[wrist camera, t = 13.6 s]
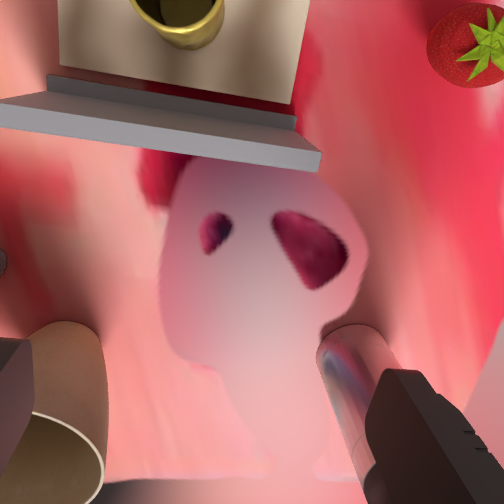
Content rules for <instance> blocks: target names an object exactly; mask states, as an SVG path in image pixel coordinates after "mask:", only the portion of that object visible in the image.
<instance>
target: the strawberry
mask: <svg viewBox="0 0 504 504" xmlns="http://www.w3.org/2000/svg"><path fill="white" fill-rule="evenodd" d="M427 56H428V59H429V62H430V64H431V66H432V67H433V69H434V70H435V71H436V72H437V73H438V74H439V75H441V76H442V77H443V78H444V79H446V80H447V81H449V82H450V83H452V84H454V85H457V86H460V87H464V88H479V87H484V86H489V85H492V84H495V83H497V82H499V81H501V80H503V79H504V9H503V8H501V7H498V6H496V5H490V4H483V3H469V4H466V5H462V6H459V7H457V8H455V9H454V10H452V11H451V12H449V13H448V14H447V15H446V16H444V17H443V18H442V19H441V20H439V21H438V22H437V23H436V24H435V26H434V27H433V29H432V30H431V32H430V34H429V37H428V40H427Z"/></svg>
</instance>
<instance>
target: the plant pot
mask: <svg viewBox="0 0 504 504" xmlns="http://www.w3.org/2000/svg"><path fill="white" fill-rule="evenodd" d="M25 339H28V340H29V341H30V342H31V346H32V357H33V373H34V389H35V400H34V407H33V411H32V415H31V418H30V421H29V423H28V425H27V427H26V429H25V431H24V433H23V435H22V437H21V439H20V441H19V443H18V444H17V446H16V448H15V450H14V452H13V454H12V456H11V458H10V460H9V462H8V463H7V465H6V467H5V469H4V471H3V473H2V475H1V477H0V504H88V503H89V502H90V501H91V500H92V499H93V498H94V497H95V496H96V495H97V494H98V492H99V490H100V489H101V487H102V484H103V481H104V476H105V466H106V453H107V440H108V422H109V403H108V383H107V374H106V367H105V361H104V355H103V351H102V346H101V343H100V340H99V338H98V337H97V335H96V334H95V333H94V332H93V331H92V330H91V329H89V328H88V327H86V326H84V325H82V324H80V323H77V322H72V321H57V322H53V323H50V324H48V325H46V326H44V327H42V328H41V329H39V330H37V331H36V332H34V333H32V334H31V335H29V336H28V337H26V338H25Z"/></svg>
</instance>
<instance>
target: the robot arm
mask: <svg viewBox="0 0 504 504" xmlns="http://www.w3.org/2000/svg"><path fill="white" fill-rule="evenodd" d="M316 363H317V366H318V368H319V371H320V374H321V377H322V379H323V382H324V385H325V388H326V391H327V394H328V396H329V399H330V402H331V405H332V407H333V410H334V413H335V416H336V418H337V421H338V424H339V427H340V429H341V432H342V435H343V438H344V440H345V443H346V446H347V448H348V451H349V454H350V457H351V459H352V462H353V465H354V467H355V470H356V473H357V475H358V478H359V481H360V484H361V486H362V489H363V492H364V494H365V497H366V500H367V502H368V504H504V469H503V468H502V467H501V465H500V464H499V463H498V461H497V460H496V459H495V457H494V456H493V455H492V453H489V452H488V448H487V447H486V445H485V444H484V442H483V441H482V440H481V438H480V437H479V436H478V435H475V430H474V429H473V428H472V426H471V425H470V424H469V422H468V421H467V420H466V418H465V417H464V415H463V414H462V413H461V411H459V410H458V409H457V408H456V407H455V406H454V405H452V404H451V403H450V402H449V401H448V400H447V399H445V398H444V397H443V396H442V395H441V394H436V392H435V391H434V389H433V388H432V387H431V385H430V384H429V382H428V381H427V379H426V378H425V377H424V375H423V374H422V373H421V372H420V371H417V370H407V369H402V367H401V366H400V364H399V362H398V361H397V359H396V358H395V356H394V354H393V353H392V351H391V350H390V348H389V347H388V345H387V344H386V342H385V340H384V339H383V337H382V336H381V334H380V333H379V332H378V331H377V330H375V329H373V328H372V327H369V326H366V325H358V324H356V325H348V326H344V327H341V328H339V329H337V330H335V331H333V332H332V333H330V334H329V335H328V336H327V337H326V338H325V339H323V341H322V342H321V344H320V345H319V347H318V350H317V354H316ZM34 400H35V389H34V373H33V357H32V346H31V342H30V341H29V340H28V339H16V338H3V337H0V477H1V475H2V473H3V471H4V469H5V467H6V465H7V463H8V462H9V460H10V458H11V456H12V454H13V452H14V450H15V448H16V446H17V444H18V443H19V441H20V439H21V437H22V435H23V433H24V431H25V429H26V427H27V425H28V423H29V421H30V418H31V415H32V411H33V407H34Z"/></svg>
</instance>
